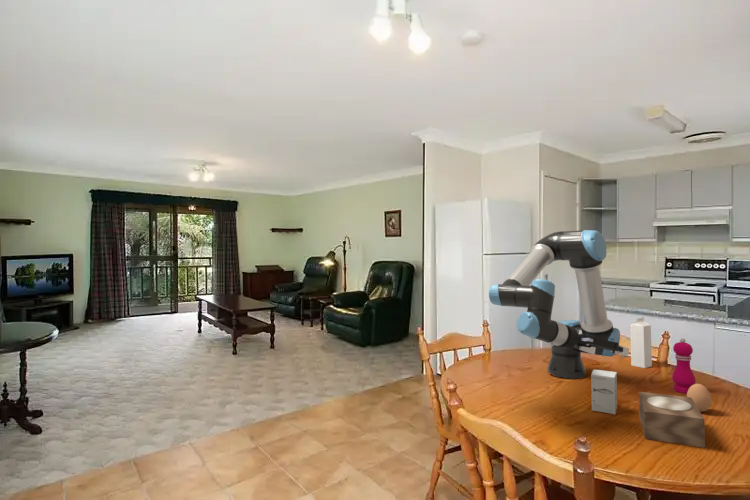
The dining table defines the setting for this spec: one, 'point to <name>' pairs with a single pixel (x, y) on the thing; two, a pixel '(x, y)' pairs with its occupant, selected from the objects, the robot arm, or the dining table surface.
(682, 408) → the walnut riser
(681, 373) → the pepper mill
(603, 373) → the supplement box
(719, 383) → the dining table surface
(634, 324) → the milk
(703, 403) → the egg
